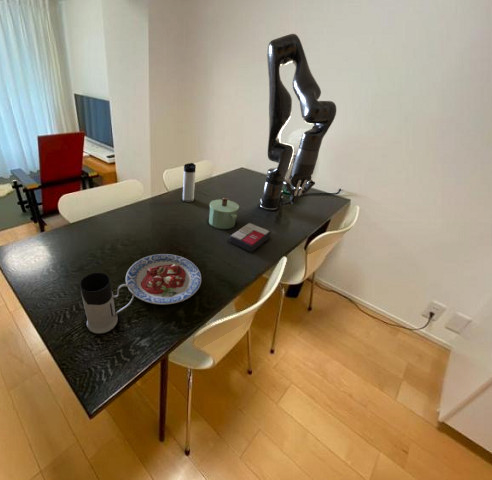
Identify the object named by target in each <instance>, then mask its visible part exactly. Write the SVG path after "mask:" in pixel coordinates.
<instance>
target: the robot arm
mask: <svg viewBox="0 0 492 480" xmlns="http://www.w3.org/2000/svg"><path fill="white" fill-rule="evenodd" d="M266 58H267V59H266V60H267V73H268V75H267V76H268V96H269V97H268V120H269V121H268V141H267V142H268V143H267V158H268V160H269V161H271V162H273V163H277V167H271V168H268V169H267V171H266V176H265V180H264V185H263V190H262V195H261V198H260V200H259V201H260V203H259V207H260V208H261V209H264V210H266V211H276V210H279V209H280V206H281V204H282V205H283V204H289V203H290V204H292V205H296V204H298V202H299V199H300V197H301V196H305V195H306V196H307V195H333V196H334V195H338V194H339V193H340V192H341V191H342V188H339V190H338V191H337V192H309V191H310V189H311V188H312V187H314V185H316V181H314V180H313V179H312V176H313V174H314V171H315V167H316V165H317V163H318V159H319V154H320V149H321V146H322V144H323V139H324V137H325V136H326V134H327V133H328V131H329V129H330V128H331V125H332V124H333V122H334V120H335V118H336V116H337V105H336V103H335V102H334V101H332V100H319V99H320V97H321V95H322V90H321V87H320V85H319V84H318V83H317V81H316V78H315V77H314V75H313V73H312V71H311V69H310V66H309V63H308V59H307V56H306V52H305V50H304V47H303V44H302V41H301V39H300V37H299V36H298V35H297V34H296V33H290V34H286V35H283V36H280V37H277V38H274V39H271V41H269V43H268V45H267V51H266ZM291 63H292V64H293V65H294V67H295V70H294V74H293V79H292V90H293V92H294V94H295V96H296V98H297V100H298V102H299V106H300V114H301V118H302V120H303V121H304V122H305V123H306V124H309V125H312V126H311V128H310V129H308V130H305V131H304V132H303V133H302V135H301V137H300V141H299V145H298V149H297V151H296V153H295V157H294V152H295V149H294V146H293V145H292V144H288V143H285V142H281V134H282V131H283V129H284V128H285V127H286V125H287V124H288V122H289V120H290V119H291V116H292V110H293V109H292V108H293V98H292V96H291V95H292V94H291V93H290V92H289V90H288V89H287V87H286V86H285V84H284V83H283V81H282V79H281V74H280V68H281V67H283V66H286V65H289V64H291ZM293 157H294V161H293V164H292V168H291V174H290V176H289V179H287V180H286V177H287V174H288V172H289V170H290V165H291V163H292V159H293ZM284 188H285V190H286V192H287V193H288V194H290V198H289V200H288V201H286V202H285V199H284V197H283V196H284V191H283V189H284Z"/></svg>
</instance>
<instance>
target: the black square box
mask: <svg viewBox="0 0 492 480" xmlns="http://www.w3.org/2000/svg"><path fill="white" fill-rule="evenodd" d="M270 236H271V231H270V230H268V229H265V228H263V227H261V226H258V225H256V224H254V223H251V222H247V224H244V226H242V227H241V228H239V229H238V230H236V231H235V232H233V233H232V234H231V235H230V236H229V243H231V244H233V245H235V246H237V247H239V248H241V249H243V250H245V251H247V252H250V253H252V252H254V251H255V250H256V249H257V248H259V247H260V246H261V245H262V244H264V243H265V242H267V241H268V240H269V239H270Z"/></svg>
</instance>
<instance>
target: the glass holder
mask: <svg viewBox="0 0 492 480" xmlns="http://www.w3.org/2000/svg"><path fill="white" fill-rule="evenodd" d="M123 287H127V288H128V287H130V288H131V289H132V291H133V294H132V296H131V299H130V301H129V302H128V303H127V304H126V305H125V306H123V307H122V308H120V309H119V310H117V311H116V308H115V301H114V299H116V298H119V296H120V289H121V288H123ZM79 288H80V295H81V298H82V303H83V308H84V311H85V316H86V327H87V329H88V330H89V331H90V332H92V333H94V334H105V333H108V332H110V331H111V330H113V329H114V328H115V327H116V326H117V324H118V321H119V317H118V314H119V313H121V312H122V311H124V310H125V309H127V308H128V307H129V306H131V305H132V303H133V301H134V299H135V296H134V288H133V287H132V286H131V285H128V284H126V283H122V284H121V285H119V286H118V288H117V291H116V294H115V295H114V293H113V291H112V283H111V278H110V276H109V275H108V274H106V273H105V272H98V271H97V272H92V273H89V274H87V275H85V276H84V277H83V278H82V279H81V280H80V282H79Z"/></svg>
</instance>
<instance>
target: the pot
mask: <svg viewBox="0 0 492 480" xmlns="http://www.w3.org/2000/svg"><path fill="white" fill-rule="evenodd" d="M238 210H239V209H238ZM238 210H237V211H236V212H233V213H221V212H217V211H214V210H212V209H211V208H210V207H209V213H208V224H209V225H210V226H211V227H213V228H215V229H221V230H227V229H228V230H229V229H232V228H234V227H235V225H236V222H237V218H238Z"/></svg>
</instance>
